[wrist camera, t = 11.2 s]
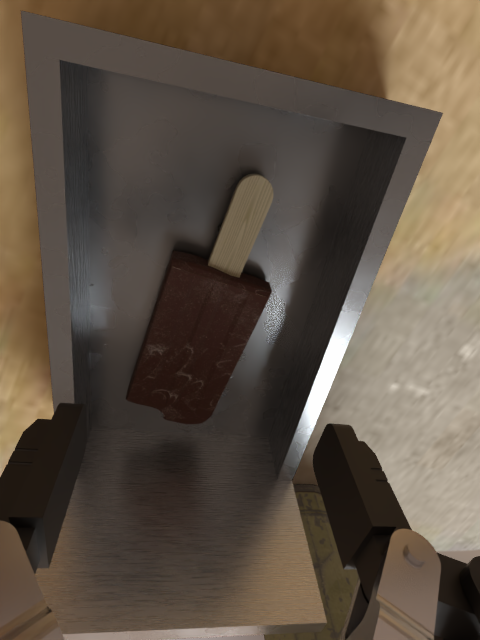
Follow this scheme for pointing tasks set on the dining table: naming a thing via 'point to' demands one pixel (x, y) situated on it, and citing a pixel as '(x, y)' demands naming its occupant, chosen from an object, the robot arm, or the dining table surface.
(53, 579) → the silver tray
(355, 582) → the thermos
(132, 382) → the ice cream bar
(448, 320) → the dining table surface
